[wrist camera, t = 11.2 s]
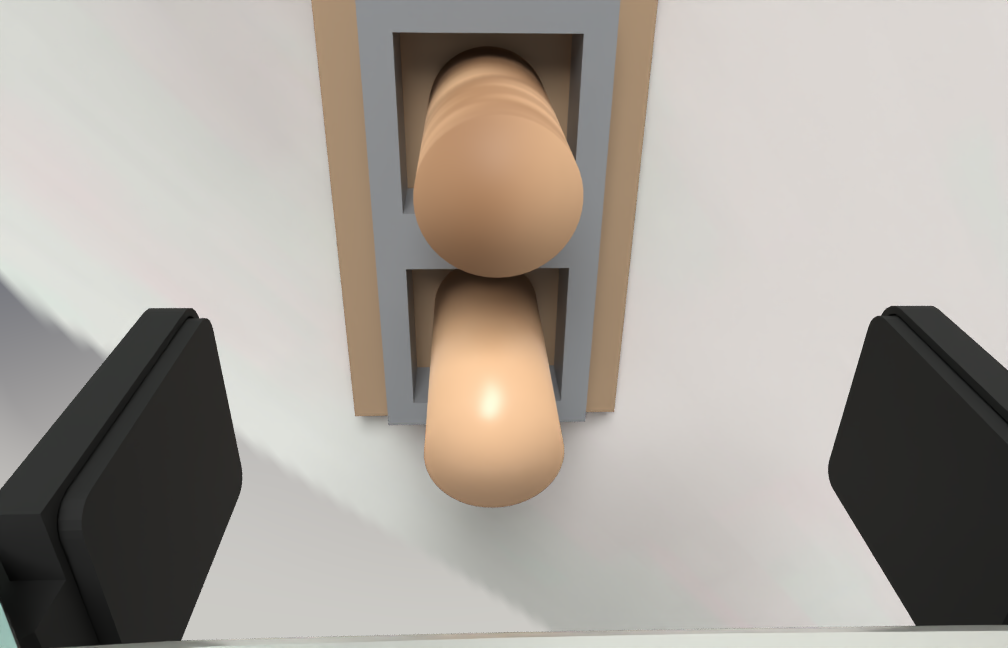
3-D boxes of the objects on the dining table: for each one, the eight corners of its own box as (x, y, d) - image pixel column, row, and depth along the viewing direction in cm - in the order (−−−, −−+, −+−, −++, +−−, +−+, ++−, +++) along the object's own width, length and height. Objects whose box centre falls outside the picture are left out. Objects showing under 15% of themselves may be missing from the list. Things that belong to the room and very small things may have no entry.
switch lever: (548, 46, 24) (589, 115, 17) (543, 165, 26) (577, 277, 19) (426, 45, 24) (409, 115, 16) (430, 165, 26) (416, 278, 18)
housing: (655, -63, 24) (768, -42, 15) (609, 395, 33) (663, 577, 24) (311, -67, 24) (220, -48, 15) (358, 399, 32) (319, 587, 24)
